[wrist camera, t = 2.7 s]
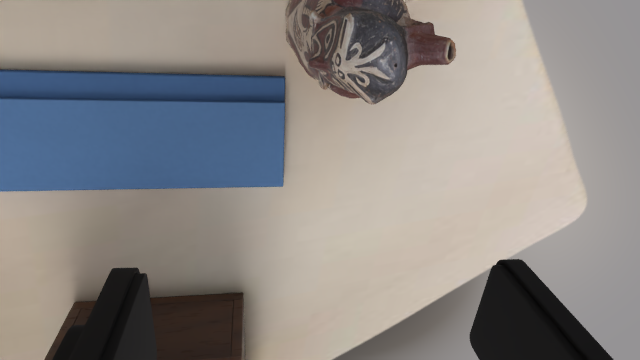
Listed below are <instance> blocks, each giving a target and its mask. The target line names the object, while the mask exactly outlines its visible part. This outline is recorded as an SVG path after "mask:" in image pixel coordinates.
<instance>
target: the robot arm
mask: <svg viewBox="0 0 640 360" xmlns="http://www.w3.org/2000/svg"><path fill="white" fill-rule="evenodd" d="M470 342H471V345H472V348H473V349H474V351H475V353H476V354H477V356H478V358H479V359H480V360H613V359H612V358H611V356H610V355H609V354H608V353H607V352H606V351H605V350H604V349H603V348H602V347H601V345H600V344H599V343H598V342H597V341H596V340H595V339H594V338H593V337H592V336H591V335H590V333H589V332H588V331H587V330H586V329H585V328H584V327H583V326H582V325H581V324H580V322H579V321H578V320H577V319H576V318H575V317H574V316H573V315H572V314H571V313H570V312H569V310H567V308H566V307H565V306H564V305H563V304H562V303H561V302H560V301H559V299H558V298H556V296H555V295H554V294H553V293H552V292H551V291H550V290H549V288H548V287H547V286H546V285H545V284H544V283H543V282H542V281H541V280H540V279H539V278H538V276H537V275H536V274H535V273H534V272H533V271H532V270H531V269H530V268H529V267H528V266H527V264H526V263H525V262H524V261H522V260H519V259H513V260H499V261H498V262H497V264H496V265H494V266H493V267H492V268H491V271H490V274H489V277H488V280H487V283H486V286H485V289H484V292H483V295H482V298H481V302H480V305H479V307H478V311H477V314H476V317H475V320H474V323H473V326H472V329H471V332H470ZM52 360H157V346H156V339H155V331H154V323H153V316H152V308H151V300H150V293H149V285H148V278H147V274H145V273H143V274H140V272H139V269H138V268H113V269H112V270H111V272H110V274H109V276H108V278H107V280H106V282H105V284H104V286H103V288H102V290H101V292H100V295H99V297H98V299H97V301H96V303H95V305H94V307H93V309H92V311H91V313H90V315H89V318H88V320H87V322H86V324H85V325H73V326H71V327H70V328H69V329H68V331H67V332H66V334H65V336H64V338H63V340H62V342H61V344H60V345H59V347H58V349H57V351H56V353H55V355H54V357H53V359H52Z"/></svg>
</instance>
